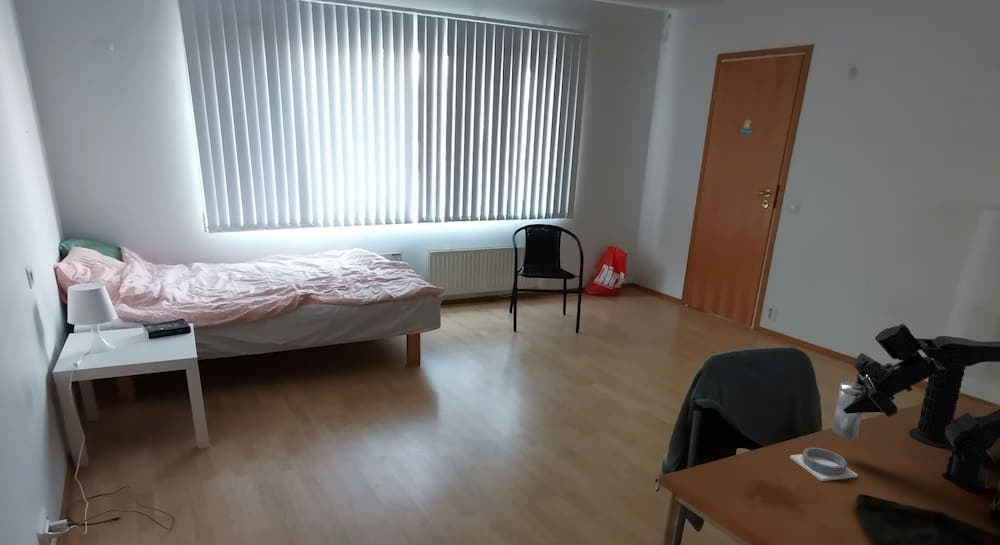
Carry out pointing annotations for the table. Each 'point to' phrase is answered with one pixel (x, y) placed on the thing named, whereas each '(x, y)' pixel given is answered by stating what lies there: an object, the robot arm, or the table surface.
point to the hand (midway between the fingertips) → (842, 406)
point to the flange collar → (824, 464)
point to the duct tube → (845, 422)
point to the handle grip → (938, 408)
